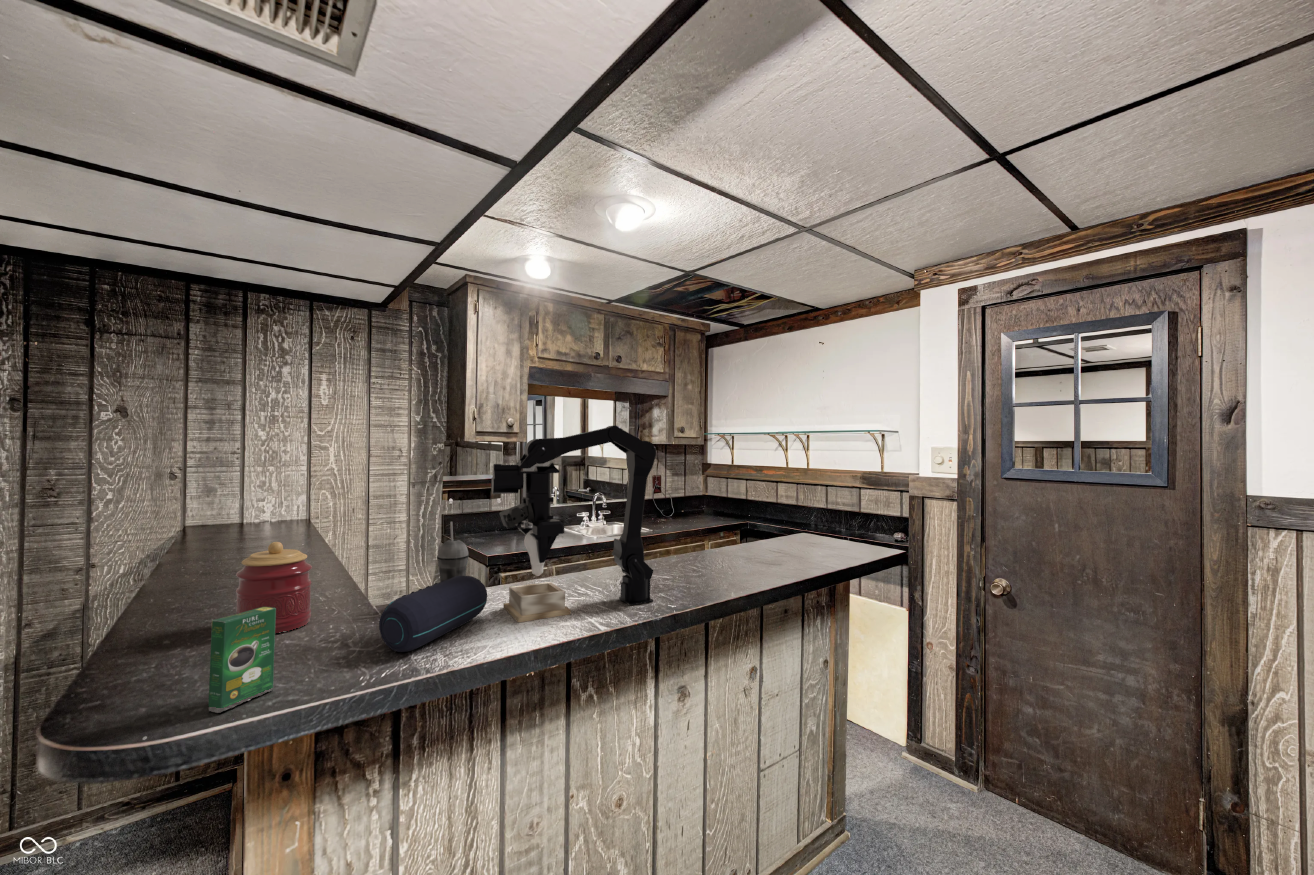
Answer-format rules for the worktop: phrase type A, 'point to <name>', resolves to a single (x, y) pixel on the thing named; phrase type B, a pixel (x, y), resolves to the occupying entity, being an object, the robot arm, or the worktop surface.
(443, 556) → the beverage cup
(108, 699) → the worktop surface
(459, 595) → the portable speaker
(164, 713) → the worktop surface
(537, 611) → the box
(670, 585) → the worktop surface
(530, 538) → the lightbulb
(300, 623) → the canister
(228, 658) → the coffee box
